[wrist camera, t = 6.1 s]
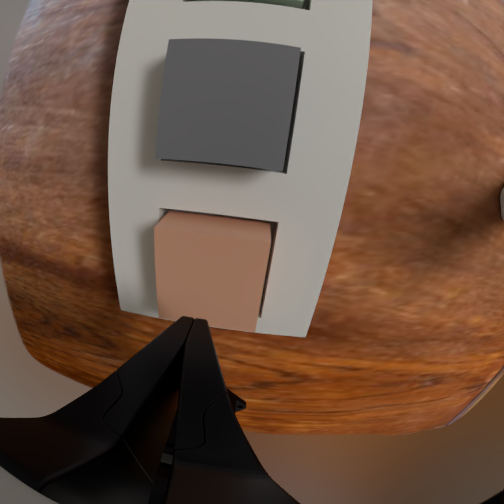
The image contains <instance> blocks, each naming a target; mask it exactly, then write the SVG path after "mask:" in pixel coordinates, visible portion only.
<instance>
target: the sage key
mask: <svg viewBox="0 0 504 504" xmlns="http://www.w3.org/2000/svg"><path fill="white" fill-rule="evenodd" d="M194 1H238V2H254V3H264V4H273V5H281V6H288V7H294V8H300V9H301V8H302V5H303V2H304V0H194Z"/></svg>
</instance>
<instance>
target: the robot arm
mask: <svg viewBox="0 0 504 504" xmlns="http://www.w3.org/2000/svg"><path fill="white" fill-rule="evenodd" d="M245 408H246V402H245V401H244V400H242V399H241V398H239V397H238V396H237V395H235V394H234V393H232V392H231V391H229V390H228V389H227V388H226V385H225V382H224V379H223V375H222V372H221V368H220V365H219V361H218V358H217V354H216V351H215V347H214V343H213V340H212V336H211V332H210V328H209V325H208V321H207V320H206V319H201V318H195V319H194V318H193V317H188V316H182V317H180V318H179V319H178V320H177V321H175V322H174V323H173V324H172V325H171V326H169V327H168V328H167V329H166V330H165V331H163V332H162V333H161V334H160V335H159V336H157V337H156V338H155V339H154V340H152V341H151V342H150V343H149V344H148V345H146V346H145V347H144V348H143V349H142V350H140V351H139V352H138V353H137V354H135V355H134V356H133V357H132V358H131V359H129V360H128V361H127V362H126V363H125V364H123V365H122V366H121V367H120V368H118V369H117V372H116V371H115V372H113V373H112V374H111V375H110V376H109V377H107V378H106V379H105V380H103V381H102V382H101V383H99V384H98V385H97V386H95V387H94V388H92V389H91V390H89V391H88V392H87V393H85V394H84V395H82V396H81V397H79V398H77V399H75V400H74V401H72V402H71V403H69V404H67V405H66V406H64V407H62V408H61V409H59V410H57V411H56V412H54V413H52V414H50V415H47V416H43V417H38V418H0V504H300V503H299V502H298V501H296V500H295V499H294V498H293V497H292V496H291V495H289V494H288V493H287V492H286V491H285V490H284V489H283V488H281V487H280V486H279V485H278V484H277V483H276V482H275V481H274V480H273V479H272V478H271V477H270V476H269V475H268V473H267V472H266V471H265V469H264V468H263V466H262V465H261V463H260V461H259V460H258V458H257V456H256V455H255V453H254V451H253V449H252V447H251V446H250V444H249V442H248V440H247V438H246V436H245V434H244V433H243V431H242V429H241V426H240V424H239V422H238V420H237V418H236V415H235V412H237V411H240V410H243V409H245ZM479 504H504V489H503V490H502V491H500V492H498V493H497V494H495V495H493V496H492V497H490V498H488V499H487V500H485V501H483V502H481V503H479Z"/></svg>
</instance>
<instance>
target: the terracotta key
mask: <svg viewBox="0 0 504 504" xmlns="http://www.w3.org/2000/svg"><path fill="white" fill-rule="evenodd" d="M270 246H271V232H270V223H267V222H259V221H252V220H244V219H236V218H228V217H220V216H212V215H203V214H195V213H186V212H177V211H169V212H168V213H167V214H166V215H165V216H164V217H163V218H162V219H161V221H160V222H159V223H158V224H157V225H156V226H155V227H154V248H155V271H156V288H157V302H158V313H159V318H163V319H169V320H174V321H177V320H178V319H179V318H180V317H182V316H188V317H193V318H194V319H195V318H201V319H206V320H207V321H208V325H209V326H211V327H218V328H226V329H233V330H241V331H249V332H255V330H256V324H257V319H258V314H259V308H260V303H261V297H262V292H263V286H264V280H265V275H266V269H267V263H268V258H269V252H270Z"/></svg>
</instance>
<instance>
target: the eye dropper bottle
mask: <svg viewBox="0 0 504 504" xmlns="http://www.w3.org/2000/svg"><path fill="white" fill-rule="evenodd" d="M500 204H501V216H502V219H503V221H504V187H503V189H502V191H501V193H500Z"/></svg>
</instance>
